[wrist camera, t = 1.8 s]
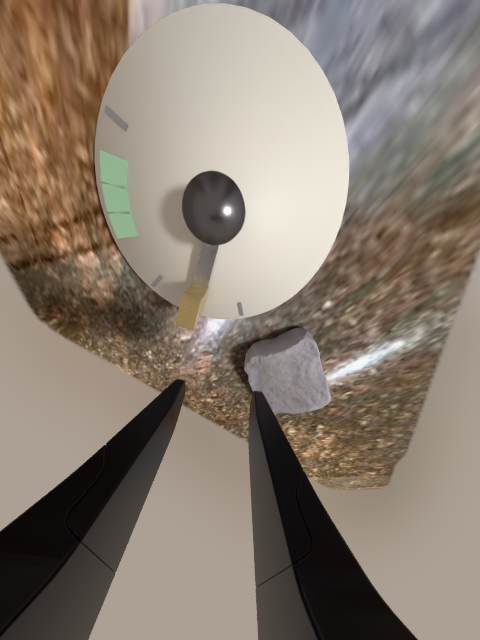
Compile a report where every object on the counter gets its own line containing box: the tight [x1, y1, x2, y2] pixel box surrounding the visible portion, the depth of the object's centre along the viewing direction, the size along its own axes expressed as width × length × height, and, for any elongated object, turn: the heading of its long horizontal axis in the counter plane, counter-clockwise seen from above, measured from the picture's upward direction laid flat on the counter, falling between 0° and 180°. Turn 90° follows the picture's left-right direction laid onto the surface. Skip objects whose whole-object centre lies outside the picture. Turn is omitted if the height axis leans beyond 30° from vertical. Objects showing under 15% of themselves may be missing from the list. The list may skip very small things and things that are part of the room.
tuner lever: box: [176, 171, 246, 330], centre depth 15 cm, size 13×4×4 cm, turn 161°
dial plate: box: [95, 3, 349, 319], centre depth 16 cm, size 21×21×1 cm
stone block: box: [244, 327, 331, 413], centre depth 24 cm, size 12×5×10 cm
